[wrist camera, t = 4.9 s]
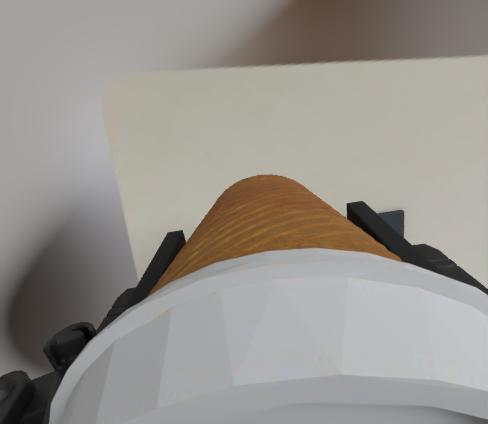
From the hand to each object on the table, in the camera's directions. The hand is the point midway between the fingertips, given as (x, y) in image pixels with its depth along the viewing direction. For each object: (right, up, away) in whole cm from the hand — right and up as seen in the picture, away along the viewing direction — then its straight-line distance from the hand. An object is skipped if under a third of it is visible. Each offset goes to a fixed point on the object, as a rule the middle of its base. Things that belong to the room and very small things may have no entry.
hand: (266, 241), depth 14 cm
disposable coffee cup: (0, +1, +1) cm, 1 cm away
